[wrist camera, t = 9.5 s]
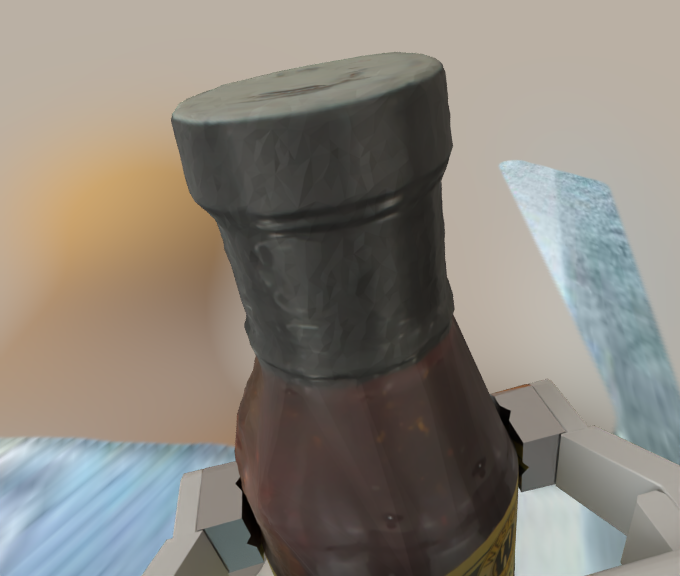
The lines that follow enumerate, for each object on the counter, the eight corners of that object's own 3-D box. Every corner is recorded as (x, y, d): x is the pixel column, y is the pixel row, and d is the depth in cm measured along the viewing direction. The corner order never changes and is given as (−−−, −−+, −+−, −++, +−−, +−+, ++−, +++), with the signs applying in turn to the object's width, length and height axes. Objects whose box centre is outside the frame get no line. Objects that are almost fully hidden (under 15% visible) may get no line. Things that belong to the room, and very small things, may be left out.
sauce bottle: (453, 858, 13) (259, 221, 3) (296, 692, 17) (-42, 155, 7) (541, 637, 17) (605, 11, 7) (397, 541, 21) (288, 47, 10)
